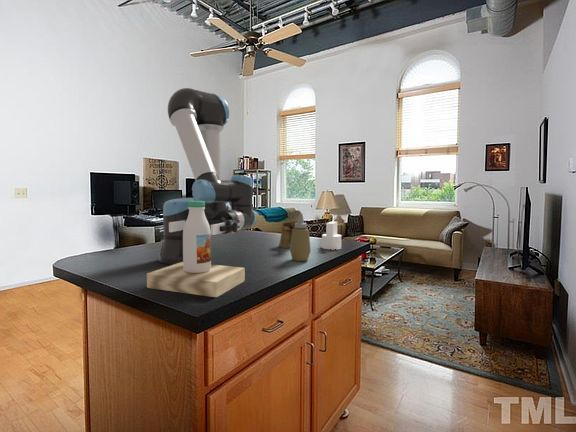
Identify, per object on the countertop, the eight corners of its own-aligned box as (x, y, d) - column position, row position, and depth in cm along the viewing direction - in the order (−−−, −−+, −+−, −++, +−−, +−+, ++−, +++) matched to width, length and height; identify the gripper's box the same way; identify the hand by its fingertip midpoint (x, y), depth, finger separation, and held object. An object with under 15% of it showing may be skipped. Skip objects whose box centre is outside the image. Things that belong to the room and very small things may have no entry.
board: (147, 287, 92) (146, 273, 92) (183, 273, 107) (182, 261, 107) (216, 297, 85) (216, 282, 85) (244, 280, 100) (244, 267, 100)
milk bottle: (186, 275, 91) (185, 201, 89) (181, 268, 97) (180, 200, 96) (214, 272, 94) (213, 201, 92) (207, 266, 101) (206, 200, 99)
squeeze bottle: (310, 258, 133) (311, 213, 132) (310, 262, 125) (311, 215, 124) (290, 257, 134) (291, 212, 133) (288, 261, 126) (289, 214, 125)
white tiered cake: (325, 245, 163) (325, 221, 162) (343, 247, 159) (343, 222, 158) (319, 248, 155) (320, 222, 154) (338, 250, 151) (339, 223, 150)
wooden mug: (288, 250, 148) (289, 210, 147) (275, 245, 160) (276, 208, 159) (306, 249, 152) (306, 210, 151) (292, 244, 164) (292, 208, 163)
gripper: (262, 234, 108) (230, 245, 88) (196, 230, 116) (153, 239, 96) (262, 211, 107) (230, 217, 87) (196, 208, 115) (153, 213, 95)
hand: (190, 228), depth 92 cm, fingers open, 13 cm apart
